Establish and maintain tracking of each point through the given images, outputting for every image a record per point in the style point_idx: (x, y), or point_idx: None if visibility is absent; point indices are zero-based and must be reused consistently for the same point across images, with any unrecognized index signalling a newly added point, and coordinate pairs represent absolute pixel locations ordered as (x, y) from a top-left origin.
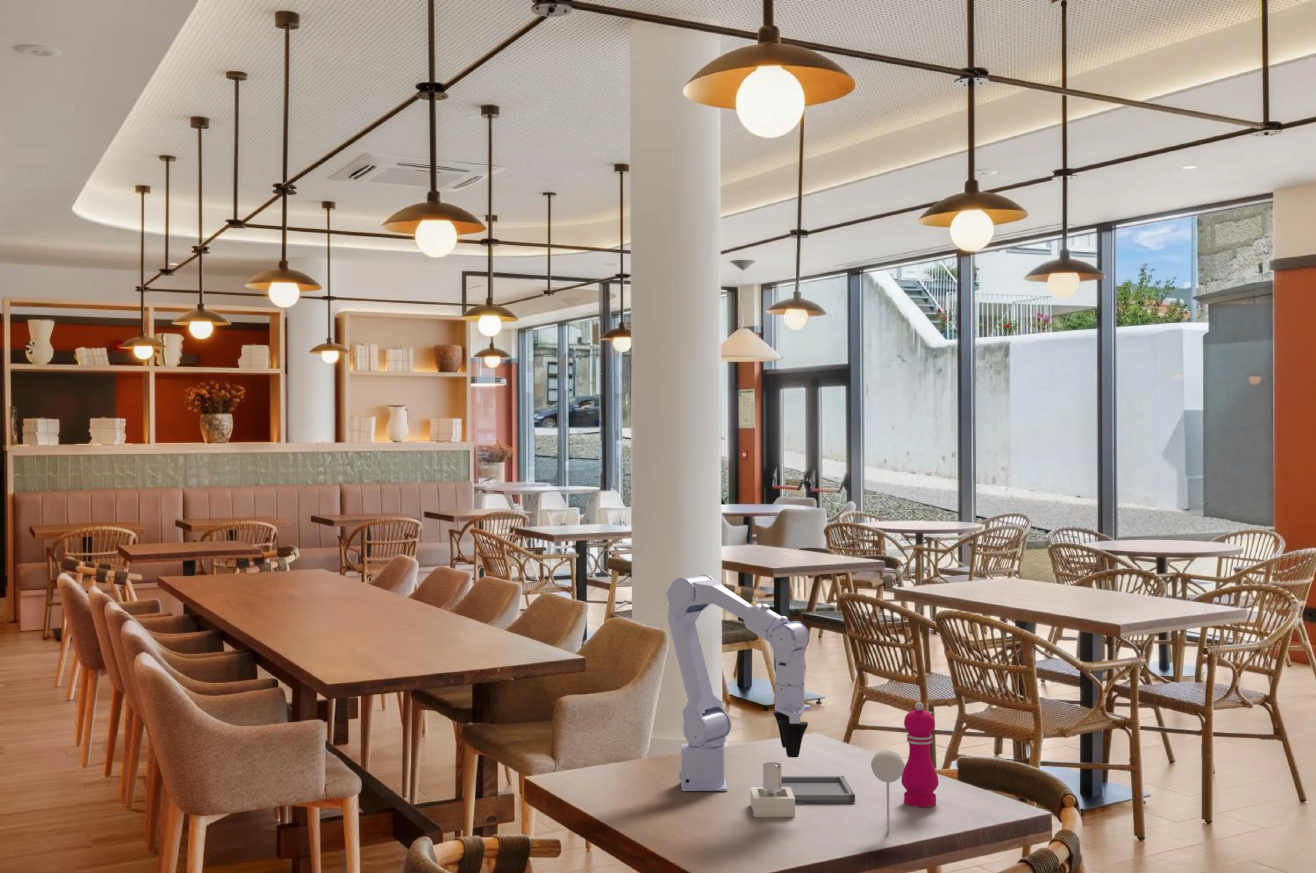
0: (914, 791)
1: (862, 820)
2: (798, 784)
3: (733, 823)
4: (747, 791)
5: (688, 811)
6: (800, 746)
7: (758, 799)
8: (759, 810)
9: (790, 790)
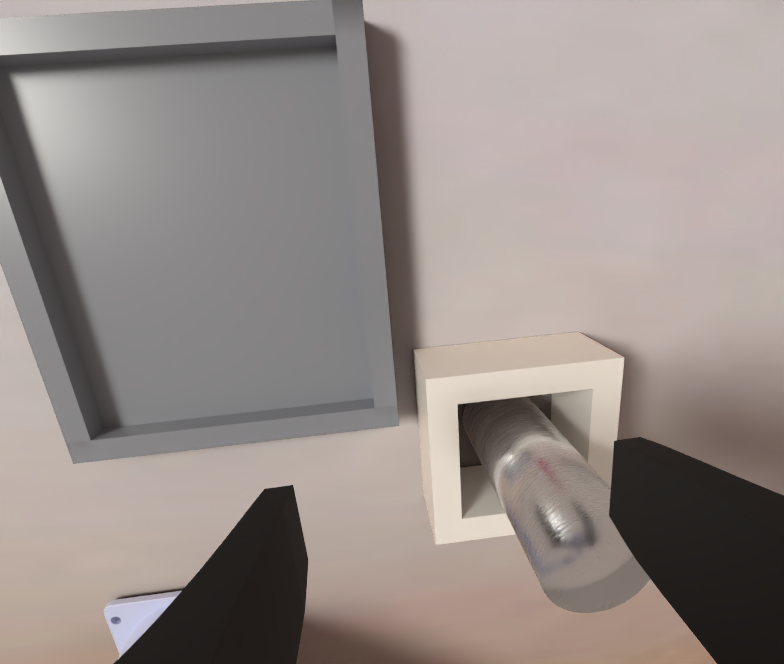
0: None
1: (649, 17)
2: (113, 313)
3: None
4: (238, 512)
5: (501, 652)
6: (748, 481)
7: None
8: None
9: (487, 378)
